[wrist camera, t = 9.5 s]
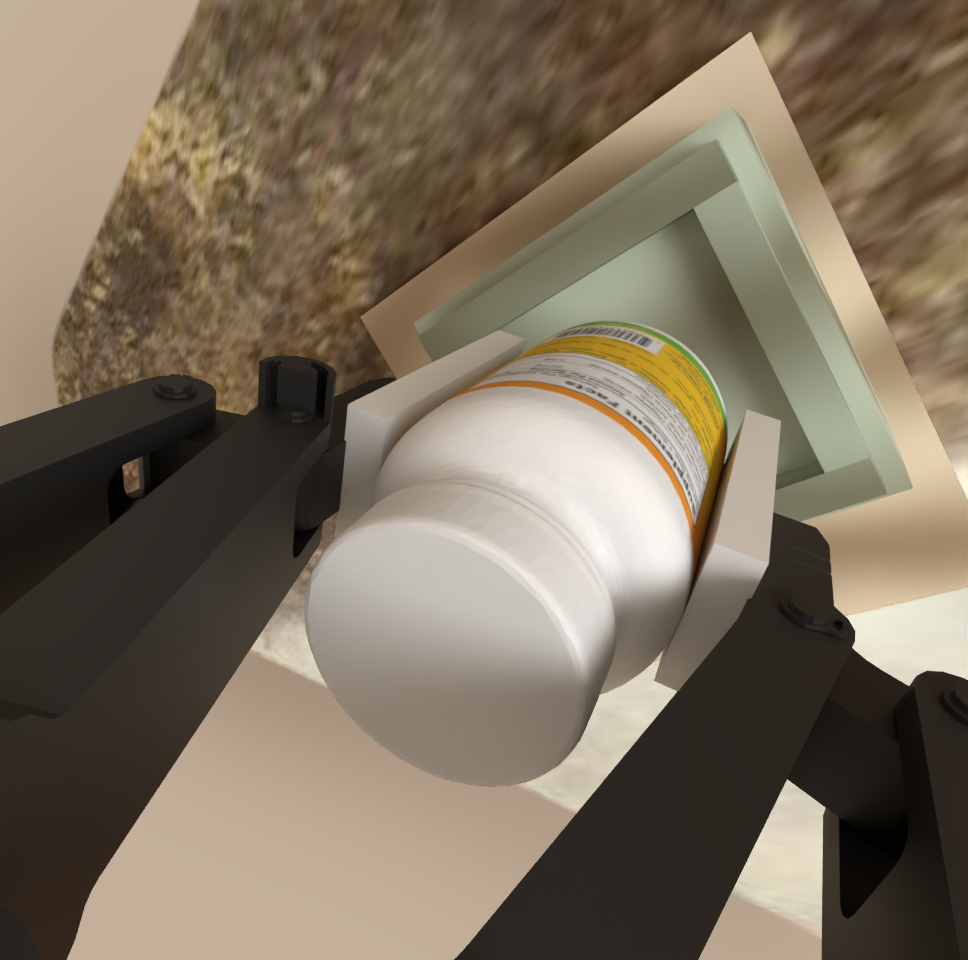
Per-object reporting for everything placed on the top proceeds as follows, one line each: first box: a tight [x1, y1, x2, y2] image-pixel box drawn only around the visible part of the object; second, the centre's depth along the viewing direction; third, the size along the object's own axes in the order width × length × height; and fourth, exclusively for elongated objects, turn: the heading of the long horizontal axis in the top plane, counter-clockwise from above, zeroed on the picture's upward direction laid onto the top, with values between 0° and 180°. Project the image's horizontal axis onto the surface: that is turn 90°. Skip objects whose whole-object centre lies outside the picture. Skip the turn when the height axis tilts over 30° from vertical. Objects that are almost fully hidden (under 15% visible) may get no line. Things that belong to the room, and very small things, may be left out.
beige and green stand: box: [360, 32, 968, 661], centre depth 22 cm, size 18×16×7 cm
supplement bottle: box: [304, 320, 728, 787], centre depth 12 cm, size 5×5×10 cm
